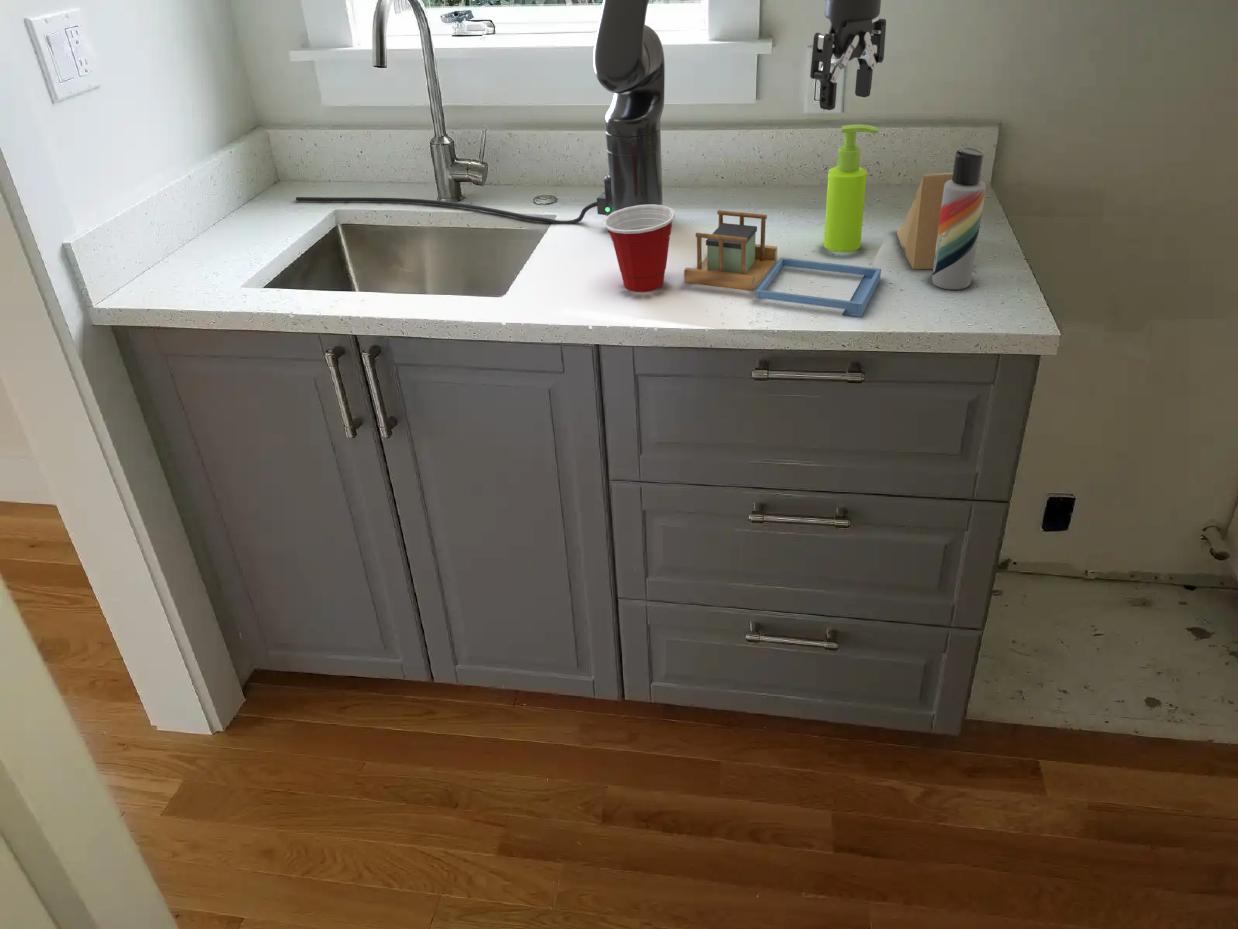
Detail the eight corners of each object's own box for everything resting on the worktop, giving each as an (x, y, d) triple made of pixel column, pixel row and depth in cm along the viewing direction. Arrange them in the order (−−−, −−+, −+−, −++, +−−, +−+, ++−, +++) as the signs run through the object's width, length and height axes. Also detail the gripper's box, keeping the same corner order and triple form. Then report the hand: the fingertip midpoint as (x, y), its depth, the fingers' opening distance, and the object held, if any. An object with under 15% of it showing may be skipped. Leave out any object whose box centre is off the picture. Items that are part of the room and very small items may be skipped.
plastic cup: (608, 276, 156) (604, 203, 150) (676, 274, 156) (674, 200, 149) (606, 305, 147) (601, 229, 141) (677, 302, 147) (676, 226, 140)
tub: (705, 277, 152) (705, 240, 148) (722, 258, 157) (722, 222, 154) (740, 281, 150) (741, 244, 146) (756, 262, 155) (757, 226, 152)
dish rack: (684, 287, 151) (683, 234, 146) (712, 256, 161) (712, 206, 156) (752, 296, 147) (753, 242, 142) (776, 264, 157) (778, 212, 152)
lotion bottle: (926, 276, 150) (943, 145, 138) (962, 273, 150) (982, 142, 139) (939, 291, 145) (958, 157, 134) (976, 288, 145) (998, 153, 134)
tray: (755, 303, 145) (755, 290, 144) (780, 269, 155) (780, 257, 154) (861, 317, 140) (862, 304, 138) (879, 280, 149) (881, 268, 148)
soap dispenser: (866, 257, 157) (878, 131, 146) (822, 256, 158) (831, 131, 147) (866, 244, 162) (877, 120, 150) (823, 243, 163) (831, 120, 152)
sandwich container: (947, 231, 164) (960, 141, 156) (968, 268, 152) (983, 172, 143) (895, 233, 165) (905, 143, 156) (911, 269, 152) (923, 174, 144)
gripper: (862, -30, 139) (852, 88, 148) (800, -15, 131) (793, 109, 141) (908, -26, 135) (895, 96, 144) (846, -11, 127) (836, 117, 136)
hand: (845, 102), depth 142 cm, fingers open, 8 cm apart
